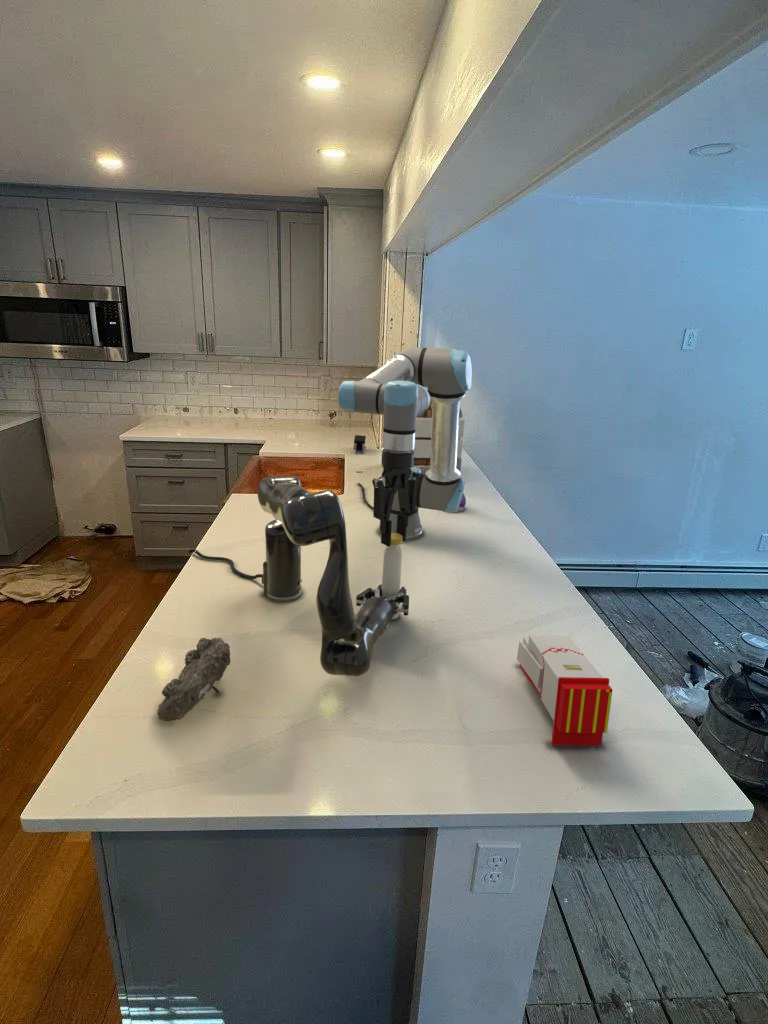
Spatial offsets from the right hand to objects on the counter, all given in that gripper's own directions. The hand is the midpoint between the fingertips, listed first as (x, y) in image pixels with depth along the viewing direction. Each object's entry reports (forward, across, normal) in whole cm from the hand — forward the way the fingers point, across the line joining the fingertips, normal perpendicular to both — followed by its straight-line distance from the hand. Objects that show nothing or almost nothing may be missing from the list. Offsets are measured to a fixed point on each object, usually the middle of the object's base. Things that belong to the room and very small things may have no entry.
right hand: (393, 541), depth 140 cm
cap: (-1, 0, 0) cm, 1 cm away
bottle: (+21, 0, 0) cm, 21 cm away
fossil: (+21, +51, -1) cm, 55 cm away
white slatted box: (+21, -102, -92) cm, 138 cm away
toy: (+21, -4, +46) cm, 51 cm away
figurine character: (+21, -105, -142) cm, 178 cm away
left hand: (+14, -2, -1) cm, 14 cm away
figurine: (+21, -77, -46) cm, 92 cm away
